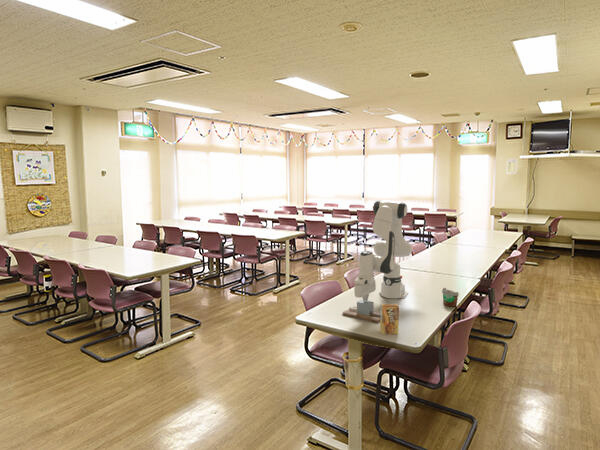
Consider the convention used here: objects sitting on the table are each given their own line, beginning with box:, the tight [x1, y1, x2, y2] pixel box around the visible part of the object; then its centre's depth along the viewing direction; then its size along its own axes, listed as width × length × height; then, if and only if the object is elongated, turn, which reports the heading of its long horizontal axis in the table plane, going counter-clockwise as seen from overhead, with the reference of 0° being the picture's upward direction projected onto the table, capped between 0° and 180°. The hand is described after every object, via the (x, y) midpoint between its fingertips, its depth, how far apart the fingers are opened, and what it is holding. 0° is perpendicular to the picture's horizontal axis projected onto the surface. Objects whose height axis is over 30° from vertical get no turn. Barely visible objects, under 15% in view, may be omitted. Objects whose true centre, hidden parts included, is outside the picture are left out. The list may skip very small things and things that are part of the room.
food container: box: [441, 287, 460, 308], centre depth 253 cm, size 12×6×10 cm, turn 21°
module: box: [356, 299, 375, 316], centre depth 234 cm, size 6×8×7 cm
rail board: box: [342, 306, 381, 324], centre depth 234 cm, size 14×23×3 cm, turn 52°
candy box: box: [379, 303, 400, 335], centre depth 207 cm, size 9×4×15 cm, turn 93°
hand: (365, 301), depth 233 cm, fingers closed
